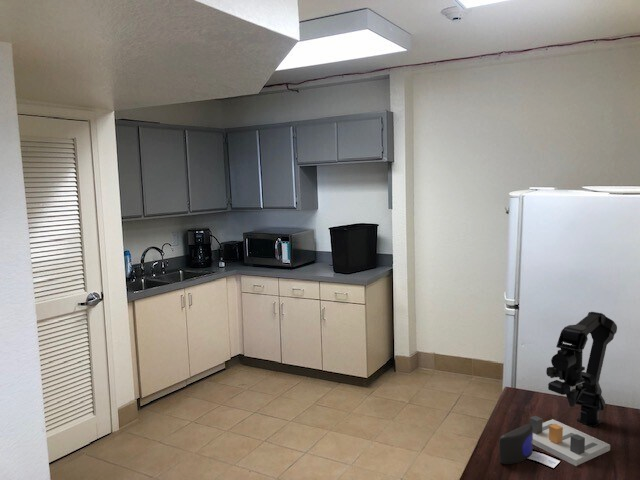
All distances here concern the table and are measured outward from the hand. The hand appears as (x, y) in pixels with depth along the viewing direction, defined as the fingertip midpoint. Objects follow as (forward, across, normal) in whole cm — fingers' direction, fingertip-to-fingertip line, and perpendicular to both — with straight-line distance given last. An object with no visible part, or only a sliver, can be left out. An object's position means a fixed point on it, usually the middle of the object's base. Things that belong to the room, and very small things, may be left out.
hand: (571, 406), depth 183 cm
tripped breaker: (+9, +11, +2) cm, 14 cm away
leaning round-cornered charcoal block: (+11, +27, -1) cm, 29 cm away
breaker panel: (+11, +7, +2) cm, 13 cm away
